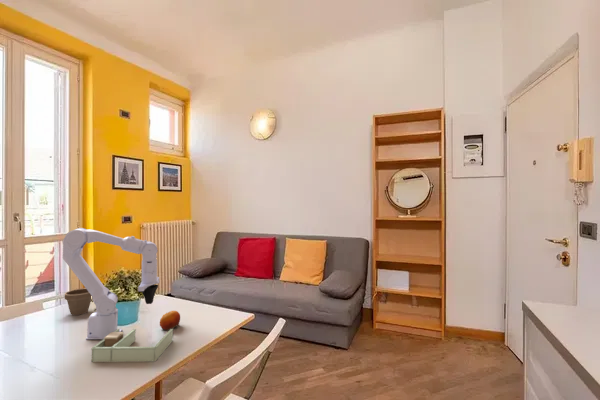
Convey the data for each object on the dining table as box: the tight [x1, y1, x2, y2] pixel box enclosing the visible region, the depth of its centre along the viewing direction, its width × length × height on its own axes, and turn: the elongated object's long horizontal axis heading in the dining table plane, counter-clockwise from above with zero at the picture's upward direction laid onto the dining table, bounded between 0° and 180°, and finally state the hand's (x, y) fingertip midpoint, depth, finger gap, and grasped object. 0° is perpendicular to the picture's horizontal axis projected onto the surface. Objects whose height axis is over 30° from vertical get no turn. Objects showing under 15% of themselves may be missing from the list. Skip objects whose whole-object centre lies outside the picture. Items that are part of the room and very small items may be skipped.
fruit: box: [159, 310, 181, 331], centre depth 123 cm, size 8×8×8 cm
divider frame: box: [91, 328, 174, 363], centre depth 103 cm, size 21×15×4 cm
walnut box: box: [104, 331, 124, 347], centre depth 102 cm, size 4×4×6 cm
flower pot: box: [64, 288, 92, 316], centre depth 138 cm, size 12×11×10 cm
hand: (149, 303), depth 122 cm, fingers closed
